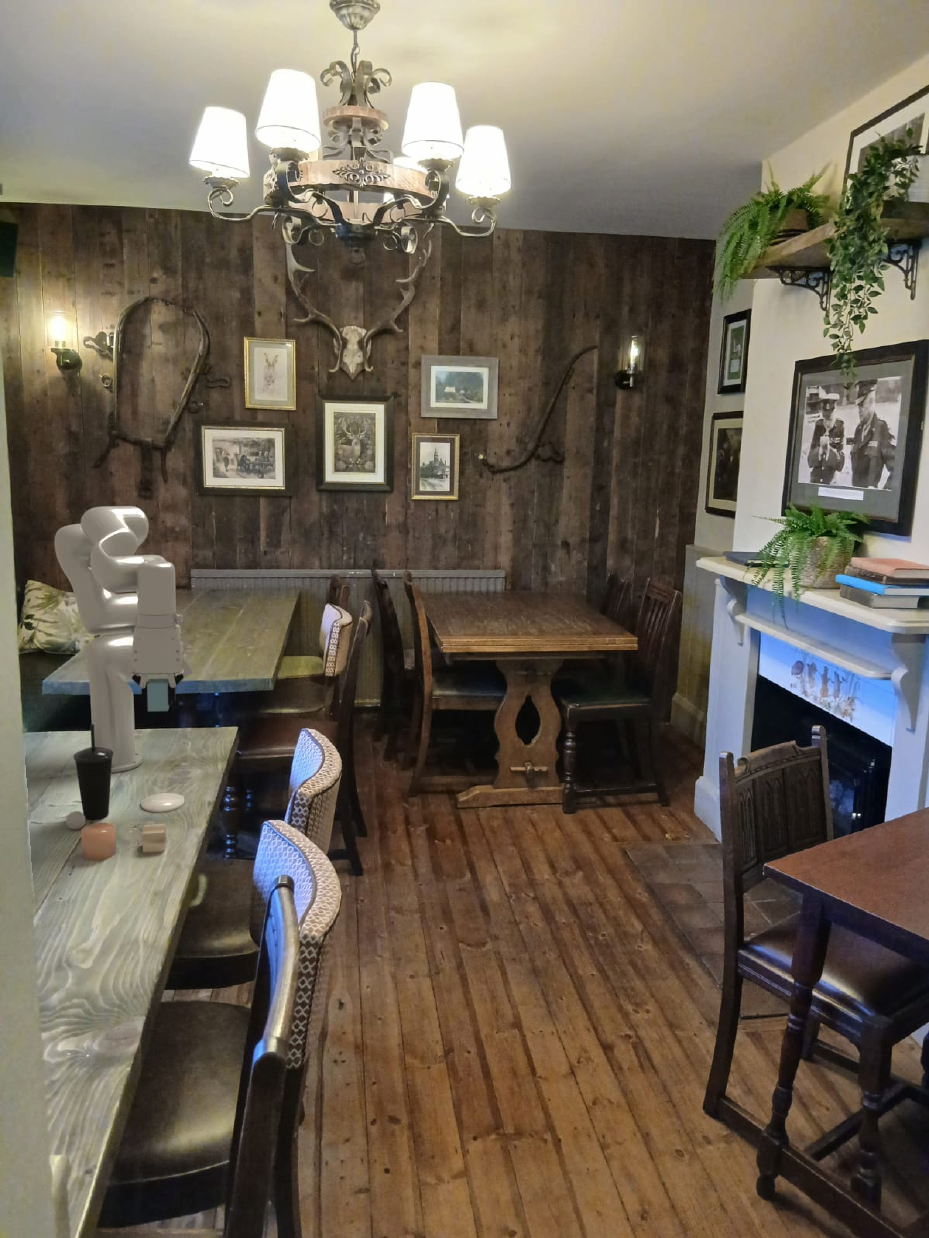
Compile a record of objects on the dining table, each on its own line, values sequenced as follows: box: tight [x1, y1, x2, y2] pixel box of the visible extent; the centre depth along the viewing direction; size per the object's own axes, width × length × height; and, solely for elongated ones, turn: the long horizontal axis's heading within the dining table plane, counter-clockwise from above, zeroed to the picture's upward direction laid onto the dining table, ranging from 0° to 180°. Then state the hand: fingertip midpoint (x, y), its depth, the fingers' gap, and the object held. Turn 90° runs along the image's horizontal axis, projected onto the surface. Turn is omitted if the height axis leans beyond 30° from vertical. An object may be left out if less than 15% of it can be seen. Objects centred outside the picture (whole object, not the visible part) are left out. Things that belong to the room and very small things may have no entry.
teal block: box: [147, 677, 170, 712], centre depth 186 cm, size 4×4×6 cm
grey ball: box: [65, 810, 86, 830], centre depth 178 cm, size 4×4×4 cm
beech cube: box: [141, 823, 167, 853], centre depth 171 cm, size 4×4×4 cm
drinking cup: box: [72, 723, 114, 821], centre depth 182 cm, size 8×8×20 cm
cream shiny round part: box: [140, 792, 185, 813], centre depth 191 cm, size 9×9×1 cm
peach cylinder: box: [80, 822, 117, 862], centre depth 168 cm, size 6×6×5 cm
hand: (158, 703), depth 187 cm, fingers closed on teal block, 4 cm apart
